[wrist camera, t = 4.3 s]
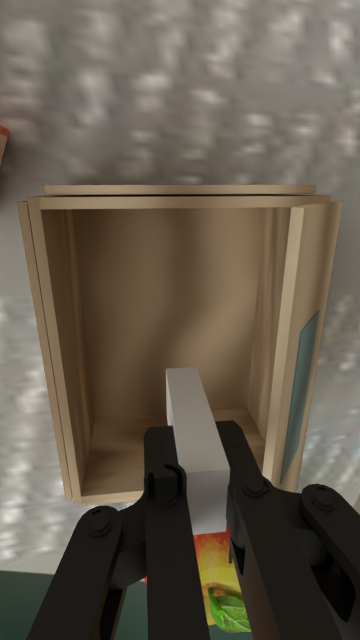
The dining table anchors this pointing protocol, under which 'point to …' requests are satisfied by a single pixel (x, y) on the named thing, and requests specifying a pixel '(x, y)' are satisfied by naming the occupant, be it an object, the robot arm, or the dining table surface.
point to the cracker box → (3, 141)
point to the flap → (299, 337)
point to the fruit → (220, 583)
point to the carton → (153, 313)
